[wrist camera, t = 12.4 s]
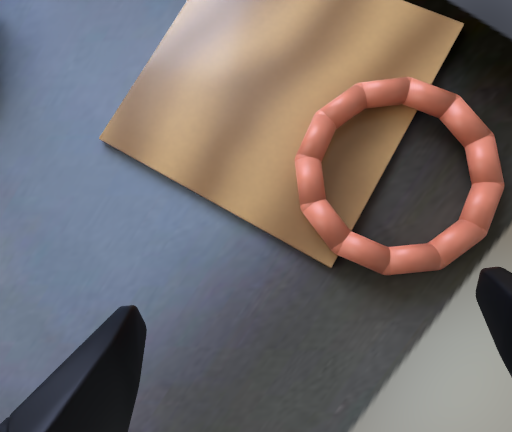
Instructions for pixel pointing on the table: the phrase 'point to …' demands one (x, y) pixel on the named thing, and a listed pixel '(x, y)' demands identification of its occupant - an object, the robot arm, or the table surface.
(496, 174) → the ring
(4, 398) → the table surface
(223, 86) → the cork mat
